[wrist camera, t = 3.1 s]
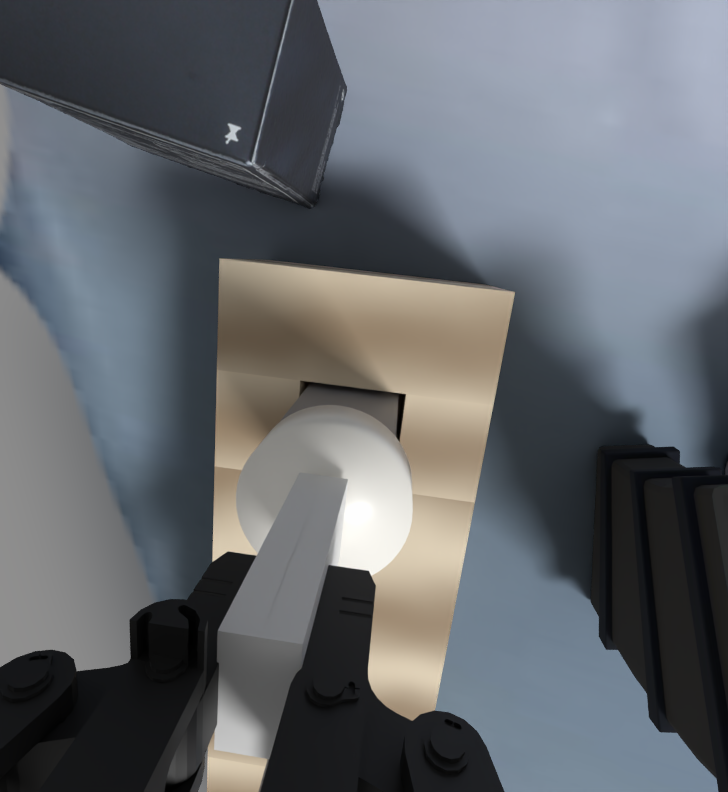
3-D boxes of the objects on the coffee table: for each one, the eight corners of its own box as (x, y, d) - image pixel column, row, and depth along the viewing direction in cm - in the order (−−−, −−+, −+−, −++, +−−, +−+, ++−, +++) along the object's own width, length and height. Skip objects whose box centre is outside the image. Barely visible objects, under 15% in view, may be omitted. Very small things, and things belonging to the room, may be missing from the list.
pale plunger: (295, 362, 22) (238, 412, 14) (419, 378, 21) (424, 437, 14) (287, 475, 23) (232, 571, 16) (402, 491, 23) (400, 596, 16)
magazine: (590, 665, 29) (758, 848, 15) (566, 451, 32) (690, 426, 17) (655, 666, 29) (893, 854, 14) (625, 449, 31) (804, 421, 17)
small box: (353, 78, 24) (313, -60, 14) (316, 212, 25) (256, 178, 15) (151, 8, 24) (-41, -183, 13) (128, 147, 25) (-56, 72, 15)
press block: (267, 259, 26) (219, 258, 19) (486, 284, 26) (515, 292, 19) (245, 709, 35) (206, 815, 28) (407, 737, 34) (407, 852, 28)
